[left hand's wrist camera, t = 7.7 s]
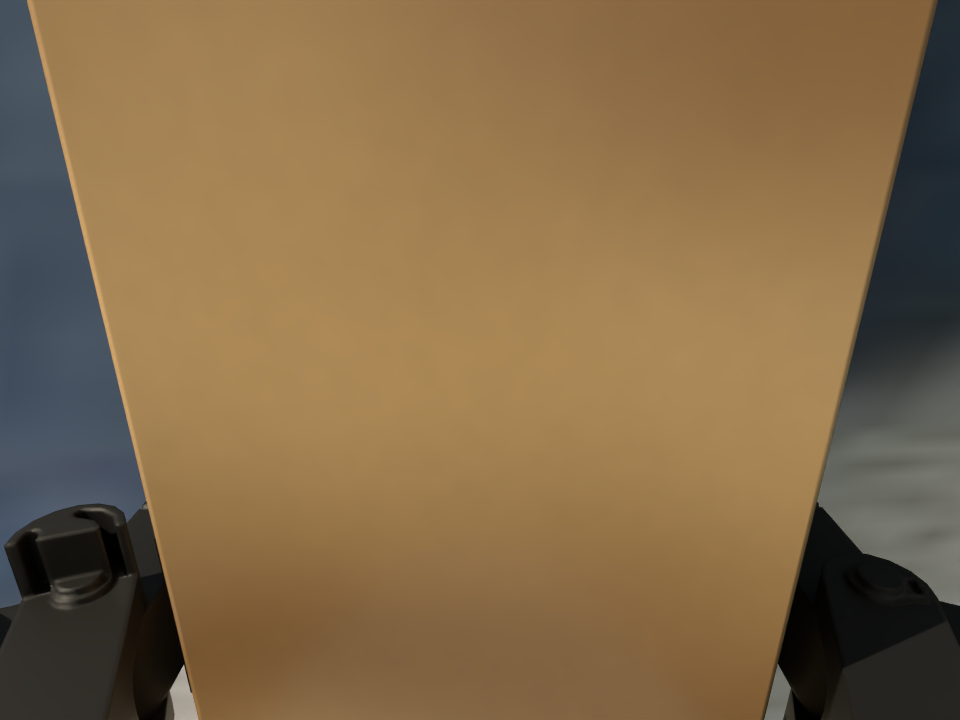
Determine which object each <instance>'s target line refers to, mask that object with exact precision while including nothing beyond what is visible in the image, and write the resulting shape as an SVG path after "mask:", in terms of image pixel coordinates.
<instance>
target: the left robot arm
mask: <svg viewBox="0 0 960 720" xmlns="http://www.w3.org/2000/svg"><path fill="white" fill-rule="evenodd" d="M4 548H5V551H6V554H7V557H8V560H9V562H10V565H11V568H12V571H13V574H14V577H15V580H16V582H17V585H18V588H19V591H20V594H21V597H22V601H21V603H20V604H18V605H14V606H10V607H5V608H0V720H174V709H173V703H172V699H171V695H170V689H171V687H172V685H173V683H174V681H175V680H176V678H177V676H178V674H179V672H180V670H181V669H182V667H183V665H184V666H185V670H186V674H187V679H188V683H189V687H190V691H191V693H192V689H191V685H190V681H189V677H188V672H187V668H186V664H185V660H184V656H183V651H182V647H181V643H180V639H179V635H178V631H177V626H176V622H175V618H174V614H173V610H172V605H171V601H170V597H169V593H168V589H167V584H166V580H165V576H164V572H163V568H162V563H161V559H160V555H159V551H158V547H157V543H156V538H155V534H154V530H153V526H152V522H151V517H150V513H149V509H148V505H147V501H146V502H145V503H144V504H143V505H142V509H139V510H138V511H137V512H136V513H135V515H134V516H133V517H132V518H131V519H130V520H129V521H128V523H126V519H125V515H124V513H123V512H122V511H121V510H119V509H118V508H116V507H115V506H111V505H104V504H87V505H77V506H73V507H70V508H66V509H62V510H58V511H55V512H53V513H50V514H48V515H46V516H43V517H41V518H39V519H36V520H34V521H32V522H31V523H29V524H28V525H26V526H25V527H23V528H22V529H20V530H19V531H17V532H16V533H15V534H14V535H13V536H12V537H11V538H10V540H9V541H8V542H7V543H6V544H5V545H4ZM778 665H779V666H780V668H781V670H782V672H783V674H784V676H785V677H786V679H787V681H788V683H789V685H790V687H791V691H790V695H789V699H788V702H787V706H786V710H785V714H784V718H783V720H960V606H958V605H954V604H949V603H945V602H942V601H939V600H938V598H937V597H936V595H935V594H934V592H933V591H932V590H931V588H930V587H929V586H928V584H927V583H925V582H924V581H923V580H921V579H920V578H919V577H917V576H916V575H915V574H914V573H912V572H911V571H909V570H907V569H905V568H903V567H901V566H899V565H897V564H895V563H893V562H891V561H889V560H886V559H882V558H879V557H876V556H872V555H869V554H863V553H862V552H861V551H860V550H859V549H858V548H857V547H856V545H855V544H854V543H853V542H852V541H851V540H850V539H849V537H848V536H847V535H846V534H845V533H844V532H843V531H842V529H841V528H840V527H839V526H838V525H837V524H836V523H835V521H834V520H833V519H832V518H831V517H830V516H829V515H828V514H827V512H826V511H825V510H824V509H823V508H822V507H819V503H818V502H817V503H816V507H815V511H814V515H813V519H812V524H811V528H810V532H809V536H808V540H807V544H806V548H805V552H804V557H803V561H802V565H801V569H800V573H799V577H798V581H797V586H796V590H795V594H794V598H793V602H792V606H791V610H790V614H789V619H788V623H787V627H786V631H785V635H784V639H783V643H782V647H781V652H780V656H779V660H778Z"/></svg>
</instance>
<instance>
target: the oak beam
mask: <svg viewBox="0 0 960 720" xmlns="http://www.w3.org/2000/svg"><path fill="white" fill-rule="evenodd" d="M27 2H28V6H29V10H30V15H31V19H32V23H33V27H34V31H35V36H36V40H37V44H38V48H39V52H40V56H41V61H42V65H43V69H44V73H45V77H46V82H47V86H48V90H49V94H50V98H51V103H52V107H53V111H54V115H55V119H56V123H57V128H58V132H59V136H60V140H61V144H62V149H63V153H64V157H65V161H66V165H67V170H68V174H69V178H70V182H71V186H72V191H73V195H74V199H75V203H76V207H77V211H78V216H79V220H80V224H81V228H82V232H83V237H84V241H85V245H86V249H87V253H88V258H89V262H90V266H91V270H92V274H93V279H94V283H95V287H96V291H97V295H98V299H99V304H100V308H101V312H102V316H103V320H104V325H105V329H106V333H107V337H108V341H109V346H110V350H111V354H112V358H113V362H114V367H115V371H116V375H117V379H118V383H119V387H120V392H121V396H122V400H123V404H124V408H125V413H126V417H127V421H128V425H129V429H130V434H131V438H132V442H133V446H134V450H135V455H136V459H137V463H138V467H139V471H140V475H141V480H142V484H143V488H144V492H145V496H146V501H147V505H148V509H149V513H150V517H151V522H152V526H153V530H154V534H155V538H156V543H157V547H158V551H159V555H160V559H161V563H162V568H163V572H164V576H165V580H166V584H167V589H168V593H169V597H170V601H171V605H172V610H173V614H174V618H175V622H176V626H177V631H178V635H179V639H180V643H181V647H182V651H183V656H184V660H185V664H186V668H187V672H188V677H189V681H190V685H191V689H192V693H193V698H194V702H195V706H196V710H197V714H198V718H199V720H764V718H765V714H766V709H767V705H768V701H769V697H770V693H771V689H772V685H773V681H774V676H775V672H776V668H777V664H778V660H779V656H780V652H781V647H782V643H783V639H784V635H785V631H786V627H787V623H788V619H789V614H790V610H791V606H792V602H793V598H794V594H795V590H796V586H797V581H798V577H799V573H800V569H801V565H802V561H803V557H804V552H805V548H806V544H807V540H808V536H809V532H810V528H811V524H812V519H813V515H814V511H815V507H816V503H817V499H818V495H819V490H820V486H821V482H822V478H823V474H824V470H825V466H826V462H827V457H828V453H829V449H830V445H831V441H832V437H833V433H834V428H835V424H836V420H837V416H838V412H839V408H840V404H841V400H842V395H843V391H844V387H845V383H846V379H847V375H848V371H849V366H850V362H851V358H852V354H853V350H854V346H855V342H856V338H857V333H858V329H859V325H860V321H861V317H862V313H863V309H864V305H865V300H866V296H867V292H868V288H869V284H870V280H871V276H872V271H873V267H874V263H875V259H876V255H877V251H878V247H879V243H880V238H881V234H882V230H883V226H884V222H885V218H886V214H887V209H888V205H889V201H890V197H891V193H892V189H893V185H894V181H895V176H896V172H897V168H898V164H899V160H900V156H901V152H902V147H903V143H904V139H905V135H906V131H907V127H908V123H909V119H910V114H911V110H912V106H913V102H914V98H915V94H916V90H917V86H918V81H919V77H920V73H921V69H922V65H923V61H924V57H925V52H926V48H927V44H928V40H929V36H930V32H931V28H932V24H933V19H934V15H935V11H936V7H937V3H938V0H27Z"/></svg>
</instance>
